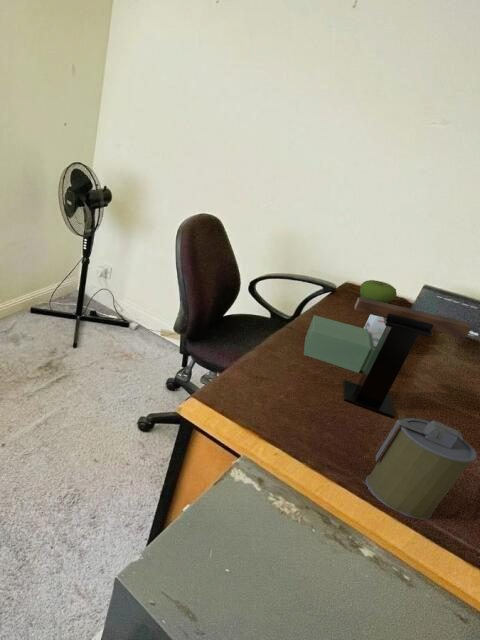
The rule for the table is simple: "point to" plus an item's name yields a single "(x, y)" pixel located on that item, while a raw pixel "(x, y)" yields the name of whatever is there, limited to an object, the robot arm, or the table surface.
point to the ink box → (375, 327)
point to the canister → (419, 466)
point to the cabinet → (337, 343)
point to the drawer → (368, 353)
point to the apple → (377, 291)
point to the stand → (385, 365)
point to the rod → (414, 316)
